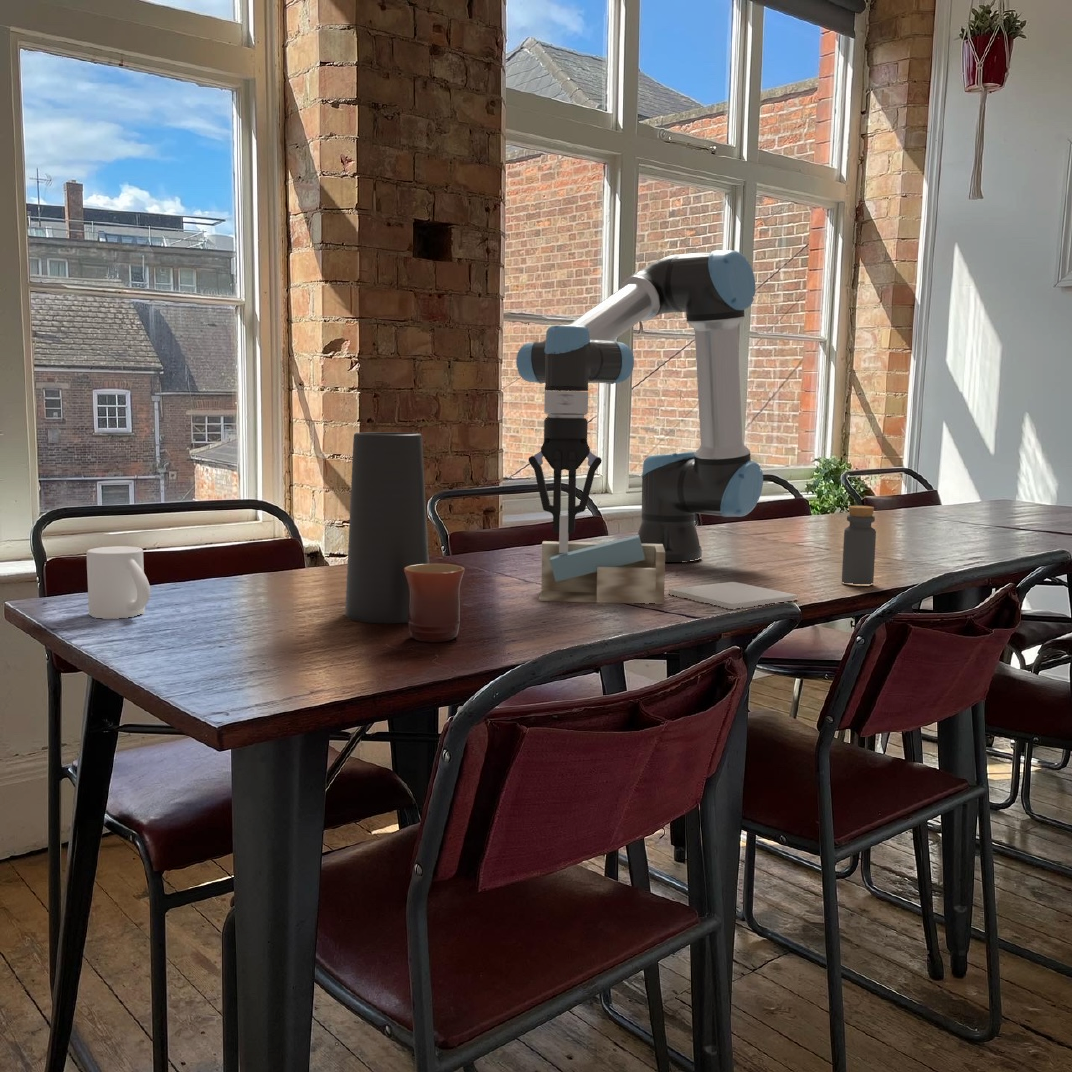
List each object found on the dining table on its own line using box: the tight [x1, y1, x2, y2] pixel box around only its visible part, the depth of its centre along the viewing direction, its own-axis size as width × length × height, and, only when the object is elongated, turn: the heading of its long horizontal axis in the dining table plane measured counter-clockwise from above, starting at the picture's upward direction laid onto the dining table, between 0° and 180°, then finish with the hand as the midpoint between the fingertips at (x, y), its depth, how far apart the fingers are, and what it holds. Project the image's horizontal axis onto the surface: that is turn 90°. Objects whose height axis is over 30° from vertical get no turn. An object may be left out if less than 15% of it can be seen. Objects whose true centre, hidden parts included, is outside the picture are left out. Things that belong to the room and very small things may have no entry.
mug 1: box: [86, 545, 151, 620], centre depth 169 cm, size 8×10×12 cm
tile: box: [667, 581, 799, 610], centre depth 192 cm, size 16×16×1 cm
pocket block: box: [538, 540, 666, 605], centre depth 190 cm, size 22×10×9 cm, turn 86°
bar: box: [550, 534, 645, 582], centre depth 189 cm, size 16×4×4 cm, turn 86°
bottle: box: [841, 505, 877, 584], centre depth 206 cm, size 6×6×15 cm
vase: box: [345, 431, 430, 624], centre depth 171 cm, size 14×14×29 cm
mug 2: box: [404, 563, 466, 643], centre depth 158 cm, size 12×9×10 cm
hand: (563, 551), depth 189 cm, fingers closed
